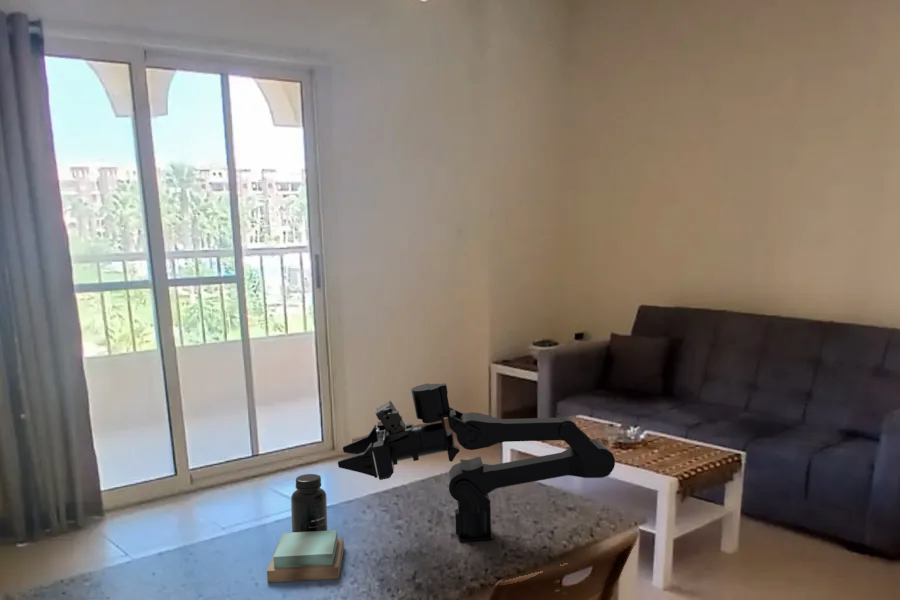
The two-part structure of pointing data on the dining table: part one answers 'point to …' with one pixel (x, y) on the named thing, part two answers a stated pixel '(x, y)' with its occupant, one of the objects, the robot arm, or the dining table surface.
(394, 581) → the dining table surface
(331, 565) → the tower base
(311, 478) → the supplement bottle
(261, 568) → the dining table surface
